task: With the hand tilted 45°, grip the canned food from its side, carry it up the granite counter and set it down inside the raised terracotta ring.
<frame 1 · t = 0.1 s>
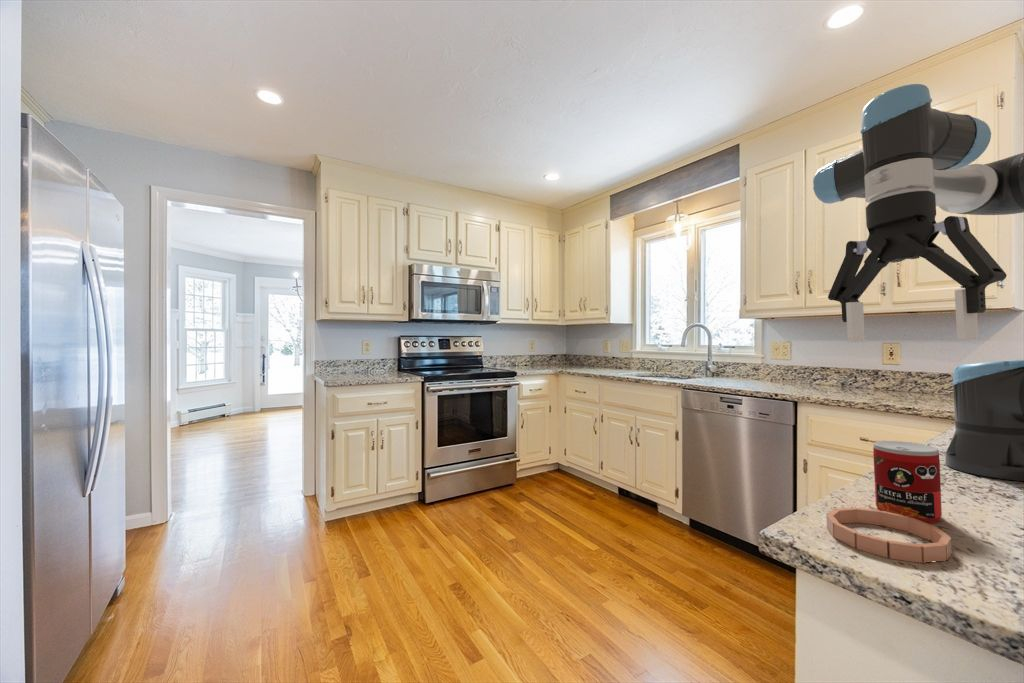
hand: (906, 341, 60), 28 cm above the counter, tool pointing down, fingers open, 13 cm apart
ring: (884, 539, 58), on the counter
canned food: (907, 515, 66), on the counter
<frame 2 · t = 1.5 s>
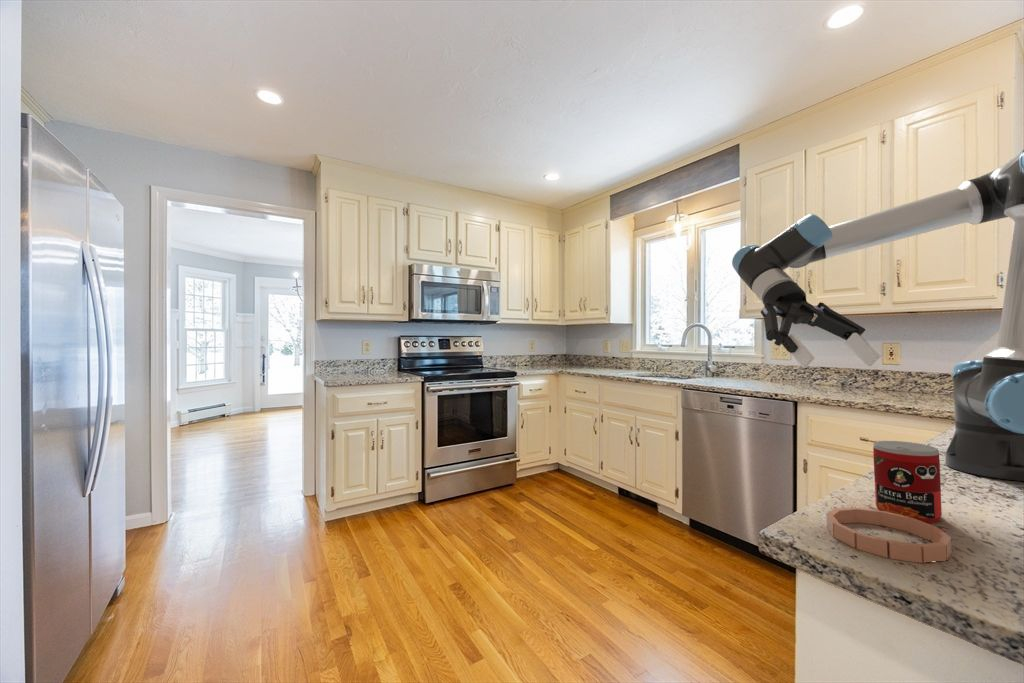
hand: (842, 362, 77), 24 cm above the counter, tool tilted 45°, fingers open, 13 cm apart
nothing on the counter moved.
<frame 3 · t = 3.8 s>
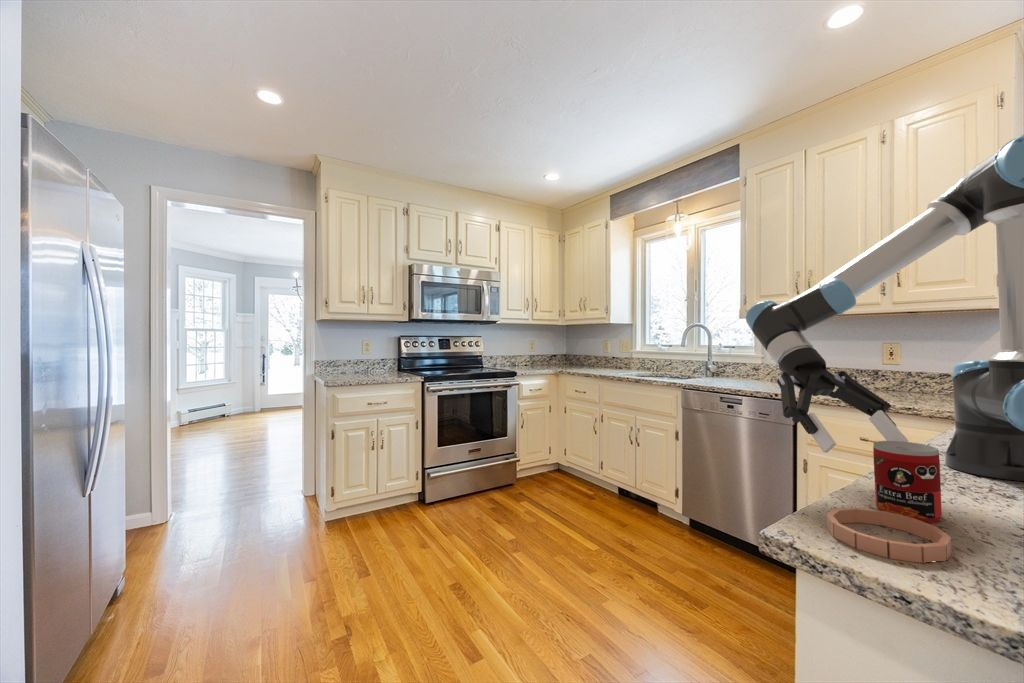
hand: (866, 447, 71), 10 cm above the counter, tool tilted 45°, fingers open, 13 cm apart
nothing on the counter moved.
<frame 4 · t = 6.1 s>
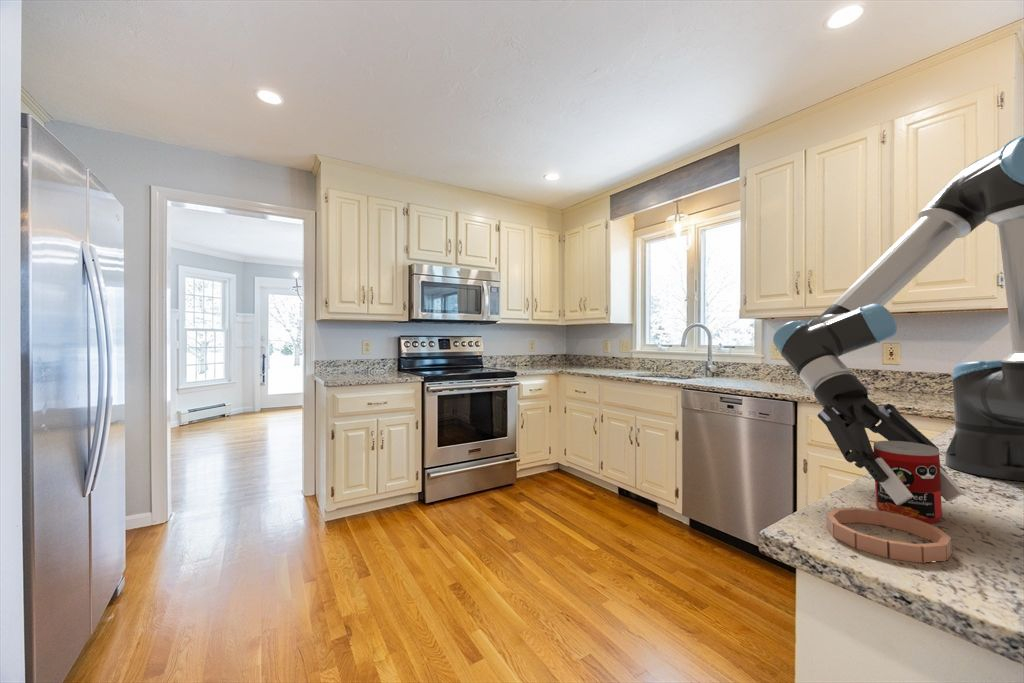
hand: (930, 498, 63), 4 cm above the counter, tool tilted 45°, fingers closed on canned food, 8 cm apart
canned food: (907, 515, 66), on the counter, touching gripper
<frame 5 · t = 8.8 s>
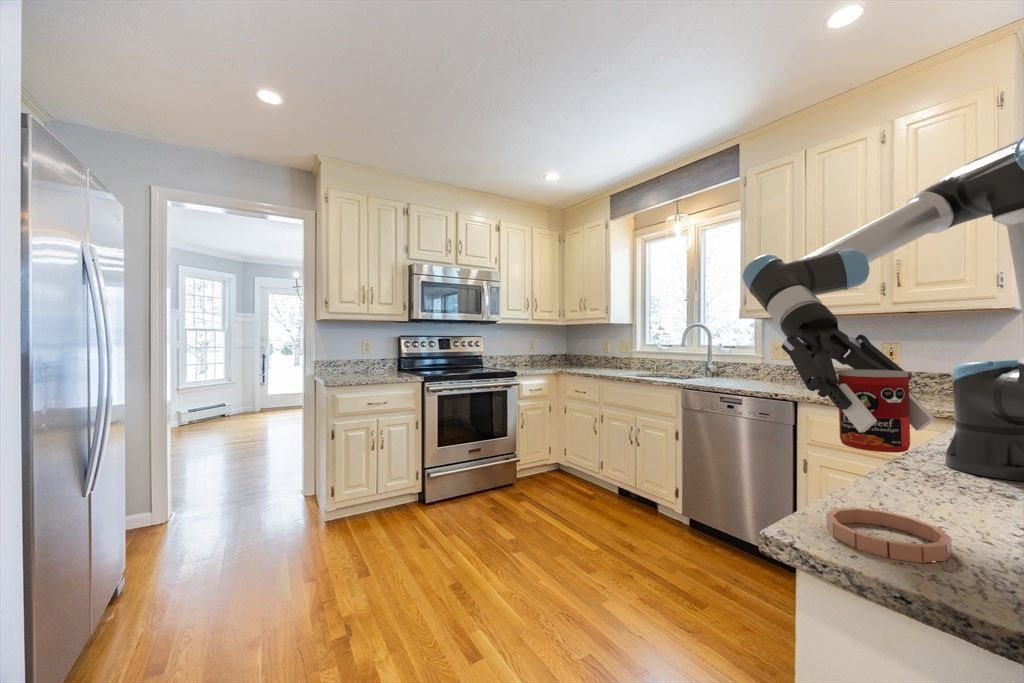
hand: (897, 425, 56), 16 cm above the counter, tool tilted 45°, fingers closed on canned food, 8 cm apart
canned food: (873, 447, 60), point 13 cm above the counter, touching gripper
when the fingers open (5 cm above the counter, at t = 11.9 s): canned food drops 1 cm, on the counter.
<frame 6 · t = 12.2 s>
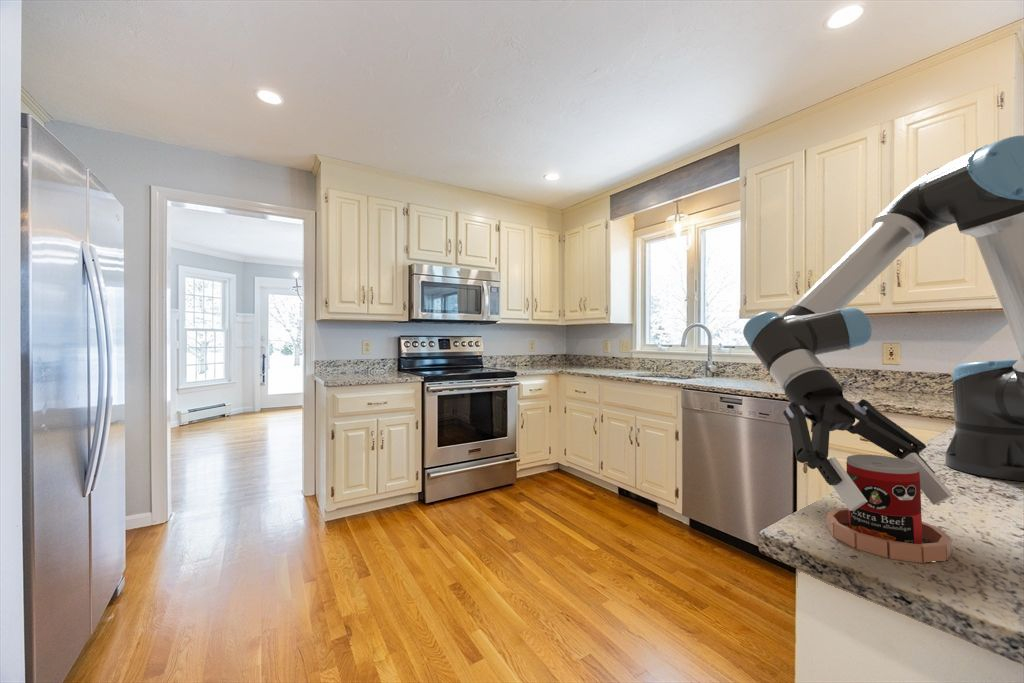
hand: (901, 503, 55), 6 cm above the counter, tool tilted 45°, fingers open, 12 cm apart
canned food: (884, 540, 58), on the counter
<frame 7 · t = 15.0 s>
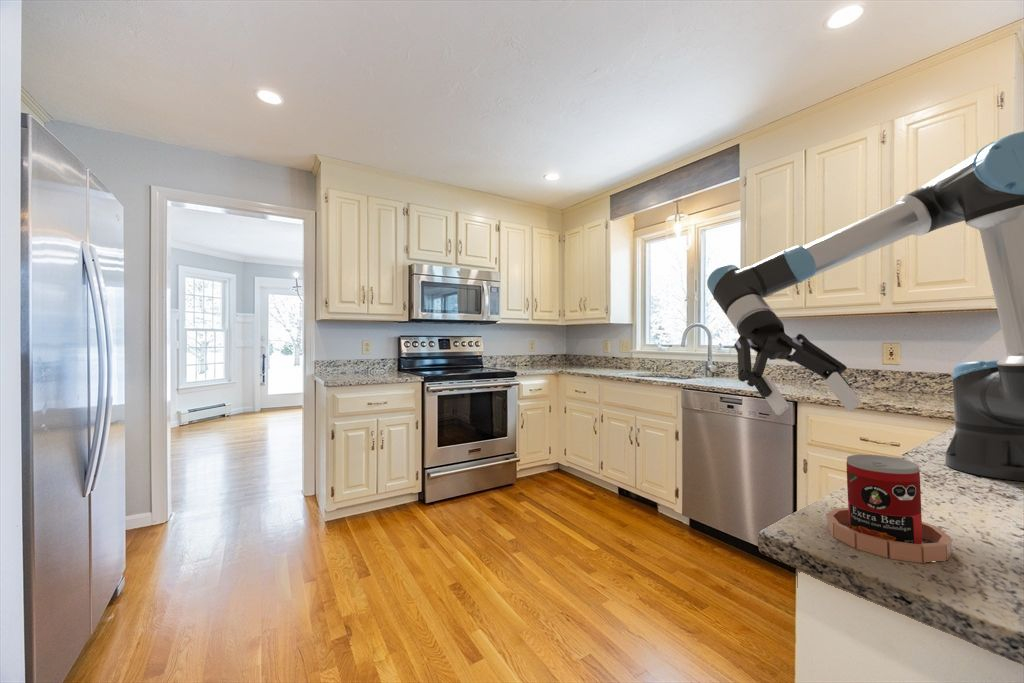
hand: (819, 408, 69), 17 cm above the counter, tool tilted 40°, fingers open, 13 cm apart
nothing on the counter moved.
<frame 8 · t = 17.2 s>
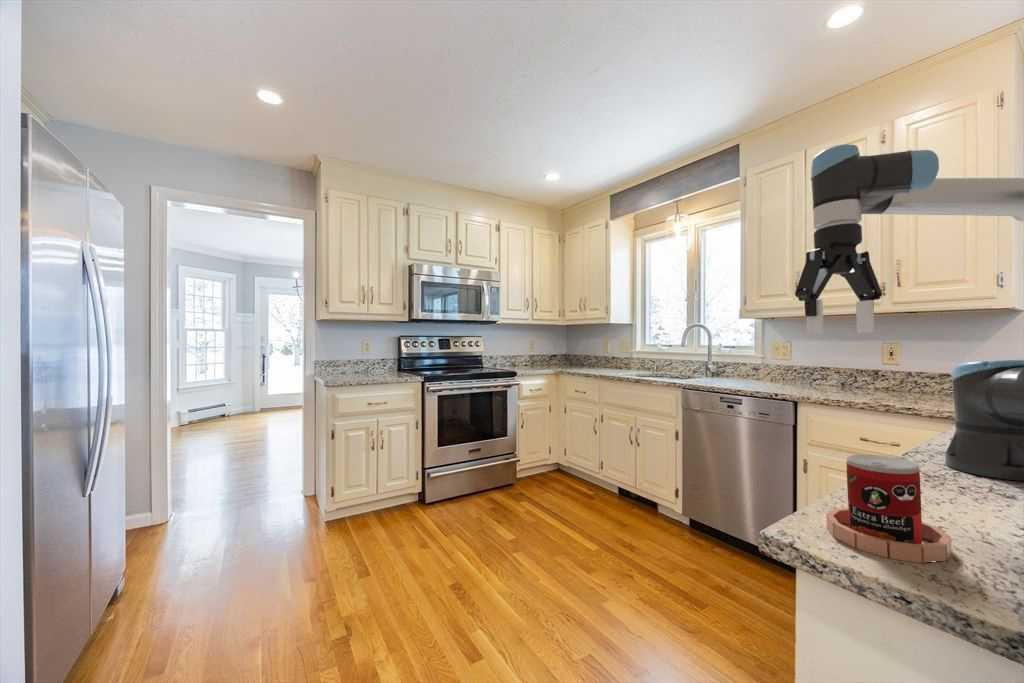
hand: (841, 333, 82), 30 cm above the counter, tool pointing down, fingers open, 13 cm apart
nothing on the counter moved.
at the end: canned food 0.1 cm off-centre on the ring, point 0.0 cm above the ring's base; canned food tilted 0°; the gripper is holding nothing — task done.
